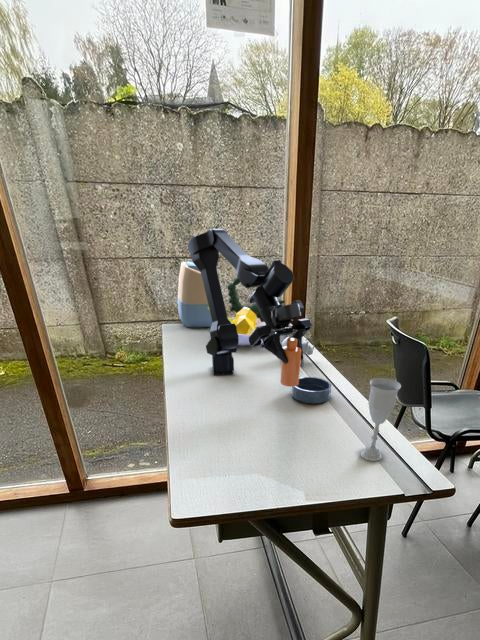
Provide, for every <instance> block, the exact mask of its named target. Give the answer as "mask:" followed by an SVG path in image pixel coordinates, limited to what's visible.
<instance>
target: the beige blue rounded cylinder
mask: <svg viewBox="0 0 480 640" xmlns="http://www.w3.org/2000/svg"><path fill="white" fill-rule="evenodd" d="M177 291H178V292H177V313H178V315H179V318H180V321H181V323H182V324H183V326H185V327H186V328H187V327H188V328H211V326H212V318H211V314H210V310H209V309H208V308H207V307H208V306H209V305H208V301H207V297H206V293H205V288H204V284H203V280H202V276H201V272H200V270H199V269H198V268H197V267H196V265H195V264H194V263H193V261H181V262H180V268H179V274H178V289H177Z"/></svg>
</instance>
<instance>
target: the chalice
mask: <svg viewBox="0 0 480 640" xmlns="http://www.w3.org/2000/svg"><path fill="white" fill-rule="evenodd" d="M369 385H370V390H369V397H368V404H367V405H368V411H369V415H370V418H371V421H372V423H374V428H373V429H372V432H373V434H372V435H371V437H370V438H371V443H369V444H368V445H366V446H365V447H364V448H363V449H362V451H361V453H360V456H361V457H362V459H364V460H366V461H370V462H377V461H380V460H381V459H383V458H382V453H381V449H380V446H379V445H377V440H379V436H378V434H379V433H380V425H382V424H384V423H385V422H386V421H387V419H388V418H389V416H391V414H392V412H393V410H394V408H395V405H396V401H397V396H398V392H399V391H400V389H401V387H402V385H401V383H400V382H399V381H397V380H395V379H393V378H387V377H374V378H371V379H370V381H369Z"/></svg>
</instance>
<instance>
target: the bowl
mask: <svg viewBox="0 0 480 640" xmlns="http://www.w3.org/2000/svg"><path fill="white" fill-rule="evenodd" d="M331 396H332V383H331V382H330V381H328V380H326V379H324V378H320V377H315V376H304V377H299V384H298V385H297V386H292V387H291V397H292V398H293V399H295V400H296V401H299V402H301V403H305V404H311V405H312V404H314V405H315V404H316V405H317V404H321V403H325V402H328V401H329V400H330V399H331Z"/></svg>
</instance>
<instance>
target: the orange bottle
mask: <svg viewBox="0 0 480 640" xmlns="http://www.w3.org/2000/svg"><path fill="white" fill-rule="evenodd" d="M286 338H287V337H286ZM297 342H298V339H296V338H287V346H285V347H283V349H284V352H285V354H286V356H287V359H288V363H287V364H285V363H284V362H283V361H281V362H280V365H281V366H280V384H281V385H282V386H284V387H291V388H292V386H297V385H298V384H299V378H300V374H301V361H302V360H301V348H299V347H297Z"/></svg>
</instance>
